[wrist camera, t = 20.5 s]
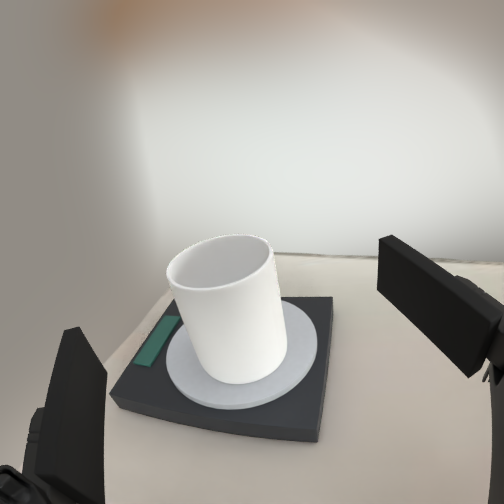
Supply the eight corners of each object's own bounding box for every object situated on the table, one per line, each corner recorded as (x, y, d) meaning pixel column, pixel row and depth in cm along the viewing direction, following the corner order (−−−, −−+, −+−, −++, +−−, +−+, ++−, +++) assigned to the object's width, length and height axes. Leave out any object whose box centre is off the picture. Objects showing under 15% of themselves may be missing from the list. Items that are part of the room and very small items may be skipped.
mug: (181, 325, 34) (151, 242, 29) (248, 297, 37) (229, 214, 32) (219, 402, 24) (180, 305, 19) (305, 360, 27) (294, 259, 22)
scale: (119, 407, 28) (105, 388, 27) (181, 309, 42) (174, 290, 41) (317, 442, 22) (316, 424, 21) (333, 312, 36) (332, 290, 35)
